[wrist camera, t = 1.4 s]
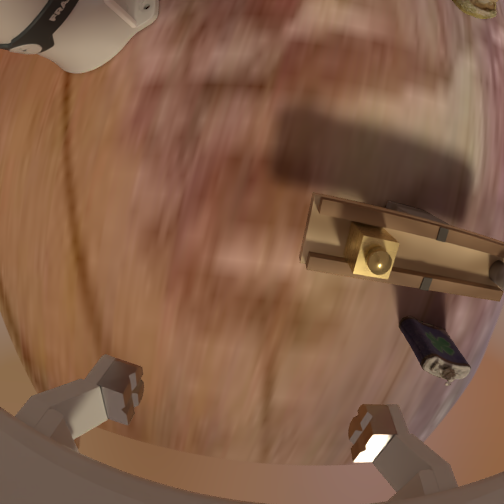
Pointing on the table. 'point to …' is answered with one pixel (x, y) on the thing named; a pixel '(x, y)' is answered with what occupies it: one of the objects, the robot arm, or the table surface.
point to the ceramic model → (478, 8)
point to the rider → (370, 250)
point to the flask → (434, 350)
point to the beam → (406, 248)
